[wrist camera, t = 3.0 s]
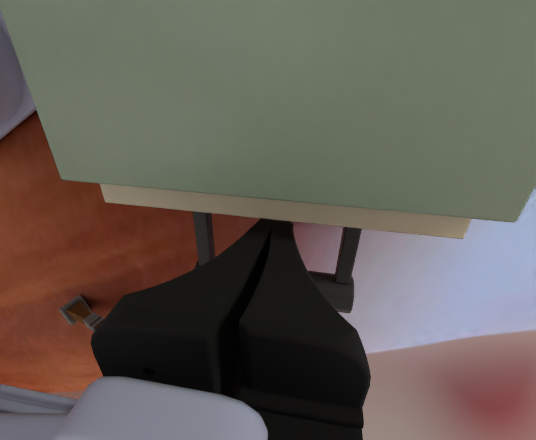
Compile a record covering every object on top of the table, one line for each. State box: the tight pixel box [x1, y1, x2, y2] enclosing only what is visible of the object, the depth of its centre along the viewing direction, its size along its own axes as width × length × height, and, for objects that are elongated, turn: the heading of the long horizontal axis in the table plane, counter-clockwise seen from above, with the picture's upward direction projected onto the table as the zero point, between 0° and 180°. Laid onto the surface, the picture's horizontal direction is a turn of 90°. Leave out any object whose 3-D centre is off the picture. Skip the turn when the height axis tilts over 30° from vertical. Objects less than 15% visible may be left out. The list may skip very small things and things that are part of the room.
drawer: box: [100, 184, 472, 313], centre depth 10 cm, size 20×12×6 cm, turn 178°
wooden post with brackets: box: [58, 295, 104, 332], centre depth 24 cm, size 2×8×4 cm, turn 103°
